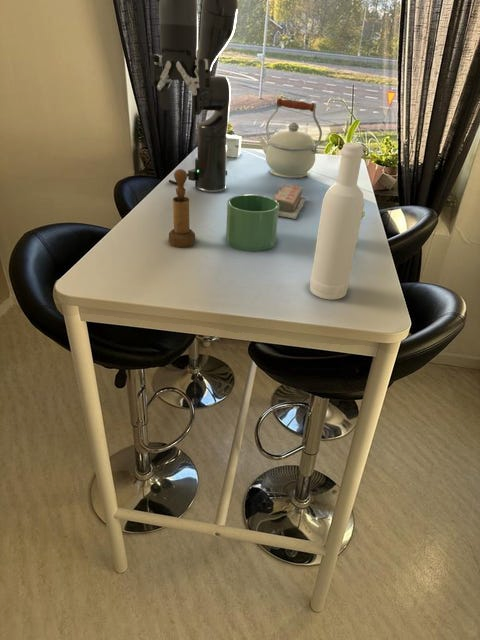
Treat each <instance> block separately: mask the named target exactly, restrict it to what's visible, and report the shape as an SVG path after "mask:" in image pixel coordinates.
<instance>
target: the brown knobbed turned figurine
mask: <svg viewBox="0 0 480 640" xmlns="http://www.w3.org/2000/svg"><path fill="white" fill-rule="evenodd" d="M187 174H188V172H187V171H186V170H185V169H182V168H179V169H177V170H175V171H174V173H173V178H174V181H175V182H177V184H178V185H177V188H175V192H176V195H177V196H175V197H173V198H172V209H173V211H172V212H173V228H172V229H171V230H170V231H169V232H168V243H169V245H170V246H172V247H176V248H189V247H192V246H193V245H195V244H196V232H194V231H193V230H192V229H191V228H190V224H191V223H190V198H189V197H187V196H186V191H187V189H186V188H185V183H186V181H187V179H188V177H187Z"/></svg>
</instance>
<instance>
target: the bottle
mask: <svg viewBox="0 0 480 640" xmlns="http://www.w3.org/2000/svg"><path fill="white" fill-rule="evenodd" d="M340 155H341V156H340V163H339V167H338V168H339V169H338V175H337V180H336V182H335V183H334V184H333V185H331V186H330V187H329V188H328V189H327V191H326V193H325V194H324V197H323V199H322V203H321V211H320V217H319V225H318V231H317V238H316V244H315V250H314V256H313V257H314V258H313V264H312V271H311V275H310V281H309V282H310V284H309V291H310V292H311V293H312V294H313V296H315V297H317V298H321V299H323V300H330V301H332V300H333V301H334V300H335V301H336V300H340V299H342V298H344V297H346V295H347V292H348V289H349V285H350V277H351V271H352V267H353V263H354V259H355V252H356V248H357V242H358V236H359V232H360V228H361V223H362V220H361V218H362V219H363V217H362V213H363V211H364V207H365V197H364V193H363V190H361V188H360V187H359V185H358V180H359V175H360V174H359V173H360V169H361V163H362V159H363V157H364V145H363V144H361V143H358V142H345V143H344V144H343V145H342V149H341V151H340Z"/></svg>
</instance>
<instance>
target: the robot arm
mask: <svg viewBox="0 0 480 640" xmlns="http://www.w3.org/2000/svg"><path fill="white" fill-rule="evenodd" d="M238 9H239V1H238V0H202V4H201V11H200V12H201V15H200V26H199V8H198V0H159V1H158V17H159V18H158V19H159V20H158V21H159V41H160V43H159V44H160V49H161V50H162V54H160V53H154V54H151V55H150V57H149V60H150V61H149V62H150V64H149V65H150V70H149V71H150V85H151V86H152V87H155V88H157V90H158V96H159V97H158V98H159V99H158V100H159V106H160V109H161V110H162V111H168V110H170V109H171V99H170V98H171V97H170V96H171V95H170V93H171V92H170V90H169V89H170V87H171V85H172V84H173V82H175V81H180V82H184V83H185V85H186V86H187V87H189V89H190V91H191V115H193V116H198V115H201V114H202V112H204V111H207V112H209V111H214V112H213V114H212V115H211V116H210V117H209V118H207V119H205V120H203V121H200V122H199V123H198V124H197V157H195V158H194V168H191V169H189V170H187V179H188V181H192V182H194V187H195V188H196V189H197V190H198V191H201V192H204V193H211V194H213V193H221V192H224V191H225V190H226V188H227V187H226V184H227V183H226V179H227V176H228V171H227V156H226V152H227V135H228V127H229V119H230V118H229V117H230V116H229V115H230V104H231V85H230V82H229V79H228V78H227V77H226V76H223V75H222V76H217V75H216V76H215V75H214V76H213V75H211V71H212V68H213V65H214V63H215V62H216V60H217V58H218V57H219V56H220V55H221V53H222V52H223V51H224V49H225V48H226V47H227V45H228V43H229V42H230V40H231V39H232V37H233V36H234V33H235V29H236V24H237V18H238V17H237V16H238ZM199 27H200V28H199ZM163 67H164V68H163ZM168 183H170V184H173V185H177V186H178V184H177V182H176V180H172V179H168Z"/></svg>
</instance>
